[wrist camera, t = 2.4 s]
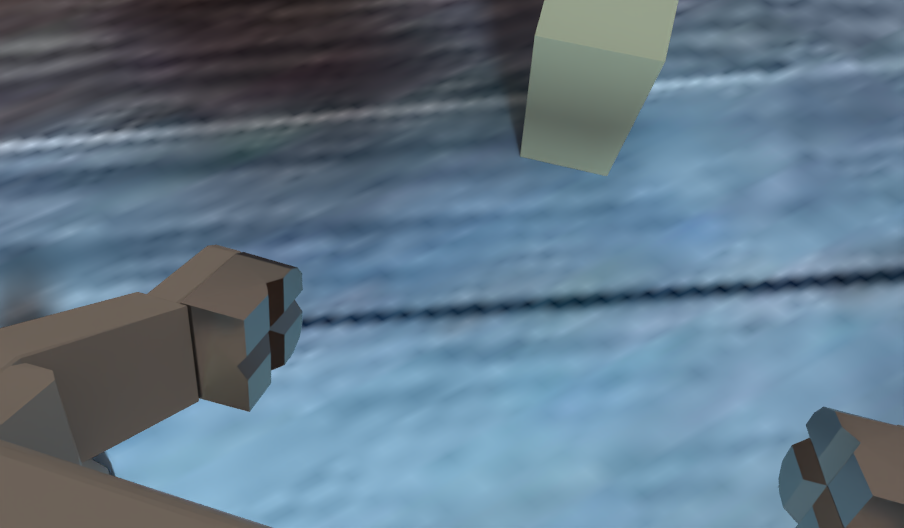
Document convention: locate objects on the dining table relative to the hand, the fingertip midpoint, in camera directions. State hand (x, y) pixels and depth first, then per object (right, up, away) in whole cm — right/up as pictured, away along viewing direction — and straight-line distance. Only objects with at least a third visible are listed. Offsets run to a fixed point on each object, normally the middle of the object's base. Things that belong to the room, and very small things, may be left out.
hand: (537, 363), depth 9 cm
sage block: (+4, +8, +18) cm, 20 cm away
